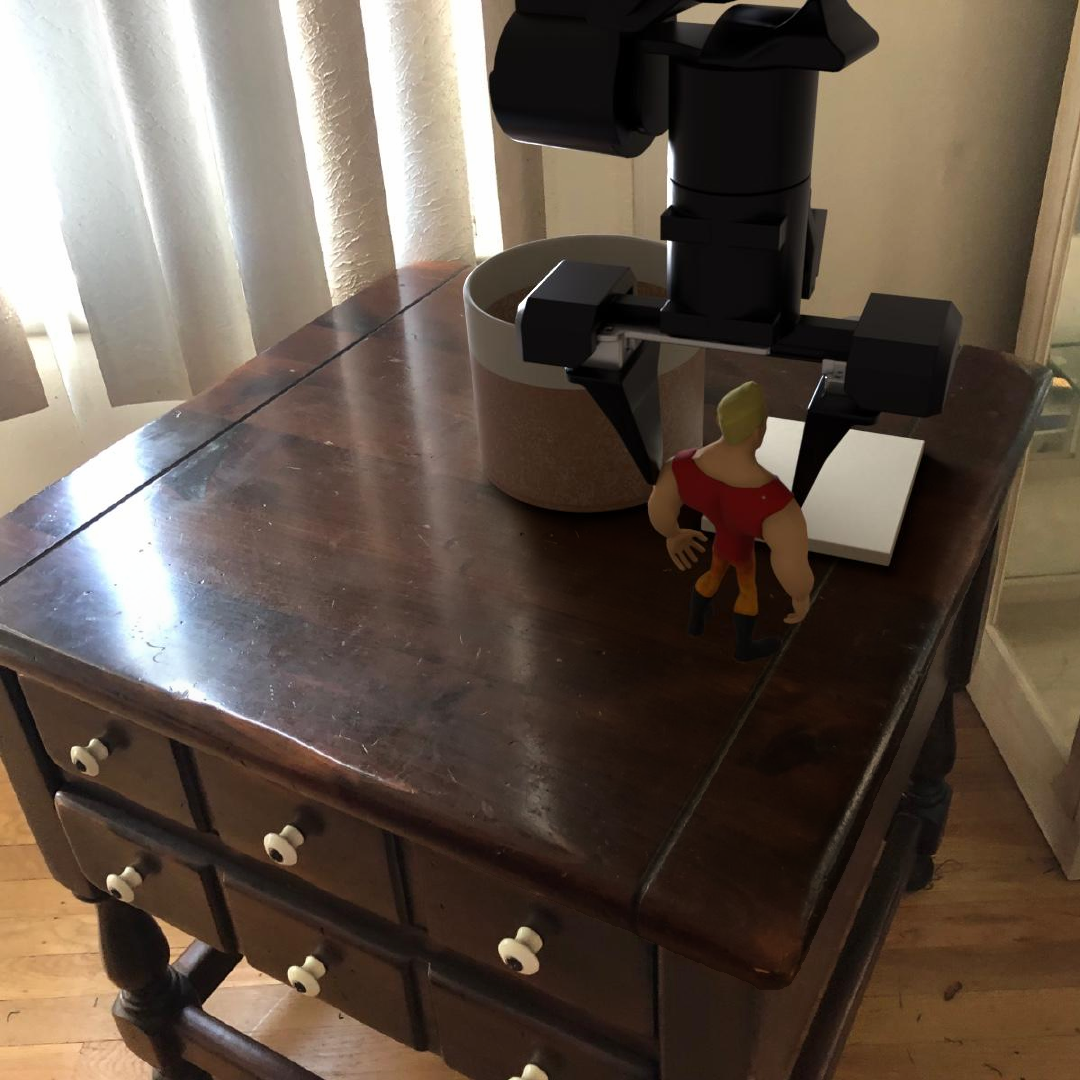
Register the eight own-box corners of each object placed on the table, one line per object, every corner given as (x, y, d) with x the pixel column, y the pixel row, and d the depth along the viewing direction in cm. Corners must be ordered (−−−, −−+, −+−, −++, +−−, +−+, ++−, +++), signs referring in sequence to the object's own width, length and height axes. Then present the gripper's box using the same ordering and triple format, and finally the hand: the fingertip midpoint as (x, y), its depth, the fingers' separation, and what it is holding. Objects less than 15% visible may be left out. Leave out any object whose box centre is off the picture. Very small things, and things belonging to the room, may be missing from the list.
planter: (709, 408, 88) (715, 234, 80) (692, 528, 75) (697, 337, 67) (507, 400, 91) (492, 231, 83) (458, 514, 78) (435, 329, 70)
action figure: (825, 660, 58) (861, 402, 50) (785, 698, 56) (815, 436, 47) (678, 584, 64) (686, 339, 55) (636, 616, 62) (638, 367, 53)
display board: (923, 452, 81) (925, 440, 81) (888, 566, 71) (890, 553, 70) (755, 426, 85) (756, 414, 85) (700, 530, 75) (701, 518, 75)
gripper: (1001, 125, 49) (947, 439, 58) (592, 103, 56) (601, 389, 65) (973, 219, 41) (915, 566, 50) (497, 179, 47) (523, 494, 57)
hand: (725, 493), depth 56 cm, fingers closed on action figure, 7 cm apart
